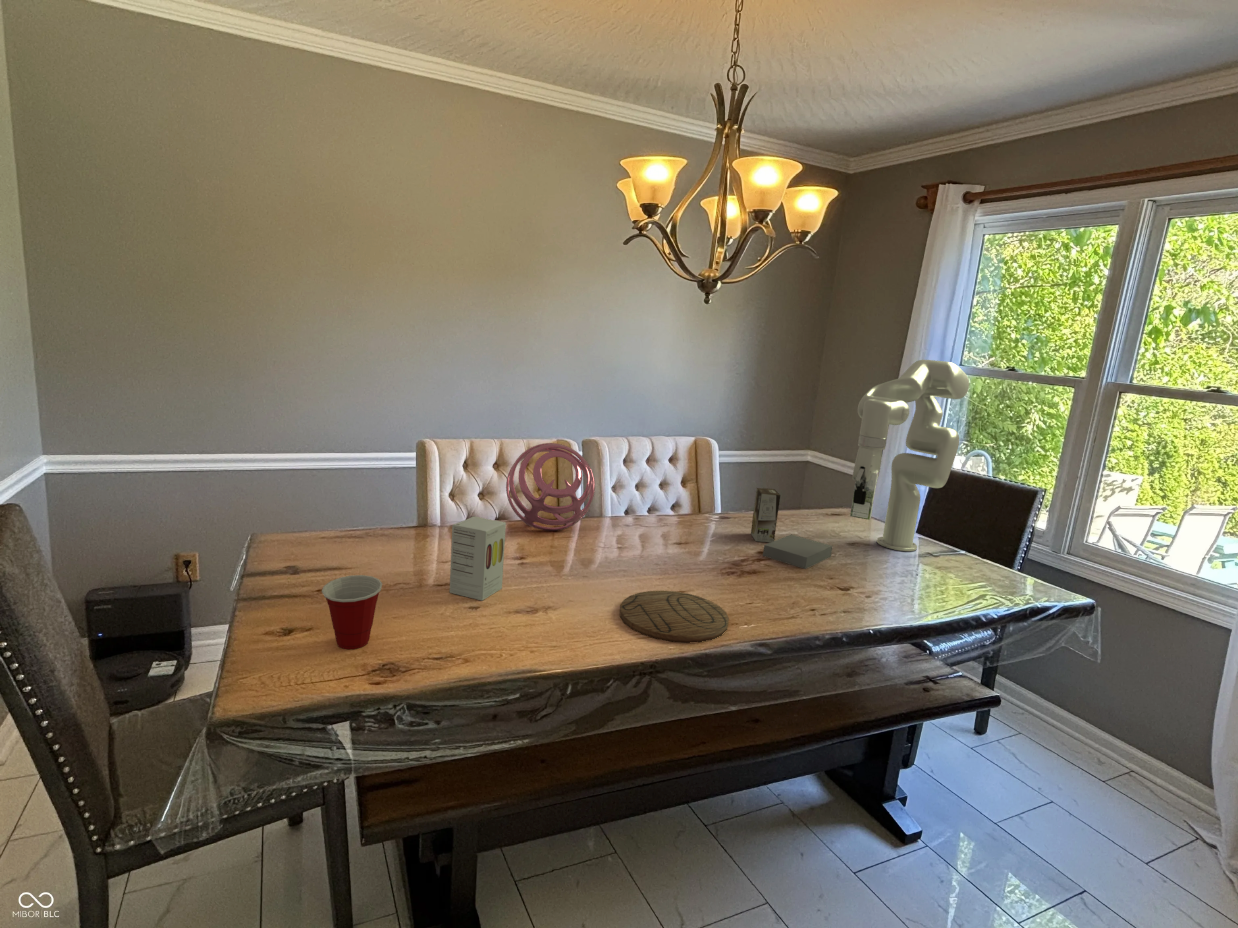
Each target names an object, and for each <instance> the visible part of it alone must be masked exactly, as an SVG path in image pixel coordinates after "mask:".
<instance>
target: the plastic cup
mask: <svg viewBox="0 0 1238 928" xmlns="http://www.w3.org/2000/svg"><path fill="white" fill-rule="evenodd" d="M382 586H383V582H382V581H381V580H380V579H379V578H376V577H374V576H373V575H365V574H364V575H363V574H360V575H359V574H355V575H347V576H341V577H337V578H335V579H332V580H330V581H328V582H327V583H325V584H324V585H323V587H322V590H321V593H322V595H323V596H324V598H325V599H326V602H327V605H328V609H329V614H330V621H331V624H332V628H333V631H334V635H335V636H334V637H335V642H336V644H337V646H338V647H339V648H341V649H344V650H356V649H360V648H363V647H365V646H367V645H368V644H369V640H370V638H371V637H370V636H371V632H372V628H373V623H374V617H375V614H376V613H375V612H376V607H377V603H378V598H379V594H380V592H381V590H382Z"/></svg>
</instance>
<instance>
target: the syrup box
mask: <svg viewBox="0 0 1238 928" xmlns="http://www.w3.org/2000/svg"><path fill="white" fill-rule="evenodd" d="M877 477H878V478H879V476H878V470H877V471H875V472H873V474H872V478H871V481H870V482H868V483H867V486H866V490H865V491H866V498H865V504H864V505H861V504H857V503H854V502H853V499H854V492H855V486H856V485H855V483H856V481H855V480H854V481H855V482H854V488H853V495H852V499H851V500H852V501H851V507H850V513H849V516H850V517H851V518H858V519H862V520H868V521H869V520H870V519H871V518H872V516H873V514H872V513H873V508H874V500H875V495H876V489H877V483H878V482H877V481H878V478H877ZM862 480H865V481H866V479H864V478H862ZM863 486H864V483H863Z"/></svg>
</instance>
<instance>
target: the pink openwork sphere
mask: <svg viewBox="0 0 1238 928" xmlns="http://www.w3.org/2000/svg"><path fill="white" fill-rule="evenodd" d="M538 453H544V454H542V455H541V456H540V457H538V459H536V461H535V463H534V465H533V469H532V477H533V481H534V484H535V485H536V486H537V488H538V489H539V490H540V491H541V494H540V496H539V497H536V496H534V494H533V493H532V492H531V490H530V489H529V488H530V487H529V486H528V483H527V481H526V472H527V471H526V469H527V467H528V464H529V462H530V460H531V459H532V458H533V457H534V456H535V455H536V454H538ZM552 458H562V459H565V460H567V461H568V462H569V463H570V464H571V465H572V467H573V469H574V473H575V477H574V480H573V482H572V484H570V483H569V482H568V480H567V479H564V484H565V486H566V488H561V489H558V488H553V485H554V482H555V479H552V481H550V483H548V484H547V483H546V482H545V481H544V478H543V475H542V469H543V466H544V464H546V462H547V461H549V460H550V459H552ZM520 462H521V464H520V466H519V470H518V484H519V488H520V490H521V492H522V494H523V495H522V496H524V498H525V499H526V500H527V502H528V503H529V504H530V505H531V508H530V509H528V508H527V507H526V506H525V505H524V504H523V502H521V500H520V499H519V496H518V494H517V492H516V488H515V472H516V469H517V467H518V465H519V463H520ZM583 474H584V476H585V479H586V486H585V489H584V492H583V493H582V495H580V497H577V495H576V493H577V491H578V490H579V488H580V487H581V484H582V481H583ZM595 490H596V482H595V475H594V473H593V470H592V468H591V466H590V465H589V463H588V461H587V460H586V459H585V458H584V456H582V455H581V454H580V453H579V452H578V451H576V450H575V449H573V448H571V447H569V446H567V445H565V444H562V443H561V444H560V443H554V442H553V443H552V442H547V443H540V444H536V445H533V446H531V447H530V448H528V449H526V450H524V451H523V452H522V453H521V454H520V455H519V456H518V457H517V458H516V459H515V461H514V463H512V465H511V467H510V469H509V472H508V474H507V478H506V484H505V491H506V493H505V494H506V497H507V500H508V503H509V505H510V507H511V509H512V511H513V513H514V514H515V515H516V516H517V517H518V519H520V520H521V521H522V522H523V523H524V524H525V525H526V526H528V527H531V528H534V529H537V530H541V531H546V532H555V531H563V530H566V529H569V528H571V527H573V526H575V525H576V524H578V523H579V522H580V521H581V520H582V519H583V518H584V517H585V516H586V515H587V513H588V511H589V509H590V507H591V505H592V502H593V500H594V497H595V492H596V491H595ZM548 497H552V498H556V499H557V498H558V499H563V498H567V497H570V498H571V503H570V504H567V505H563V506H553V505H550V504H547V503H546V502H545V500H546V498H548ZM587 499H588V501H587V503H586V505H585V506H584V507H582V506H583V505H584V503H585V501H586V500H587ZM512 500H513V501H512ZM514 504H515V505H516V506H517V508H518V509H519V510H520V511H521V513H522V514H523V515H524V516H523V515H522V514H521V513H520V512H519V510H517V508H516V506H515V505H514ZM539 512H544V513H547V514H552V515H553V516H554V517H555V518H556V519H548V518H543V517H541V516H540V515H538V514H539ZM570 512H574V514H573V515H572V516H571V517H567V518H565V517H563V516H561V515H562V514H567V513H570ZM534 522H535V523H534ZM536 523H539V524H543V525H547V526H542V525H539V524H536ZM562 525H563V526H562ZM548 526H557V527H548Z"/></svg>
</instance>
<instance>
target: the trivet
mask: <svg viewBox="0 0 1238 928" xmlns="http://www.w3.org/2000/svg"><path fill="white" fill-rule="evenodd" d="M619 617H620V620H622V623H623V624H624V625H626V626H627V627H628V628H630V629H631V630H633V631H634V632H635V633H639V634H641V635H642V636H645V637H649V638H652V639H655V640H659V641H664V642H668V643H680V644H681V643H682V644H691V643H690V642H698V643H703V642H702V641H705V642H707V641H706V640H710V641H713V640H712V639H714V640H716V639H718V638H720V637H722V636H723V635H724V634H725V633H726V632H727V631H726V630H728V626H729V621H730V618H729V615H728V613H727V611H725V609H723V607H721V606H720V605H718V604H717V603H715V602H713V601H712V600H709V599H707V598H704V597H702V596H698V595H694V594H691V593H688V592H687V593H686V592H680V591H674V590H673V591H672V590H649V591H648V590H646V591H643V592H642V591H641V592H637V593H634V594H631V595H629V596H627V597H626V598H624V599H623V600H622V602H621V603H620V606H619ZM725 631H726V632H725ZM724 632H725V633H724ZM723 633H724V634H723ZM722 634H723V635H722ZM719 636H720V637H719ZM717 637H718V638H717ZM715 638H716V639H715Z"/></svg>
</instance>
